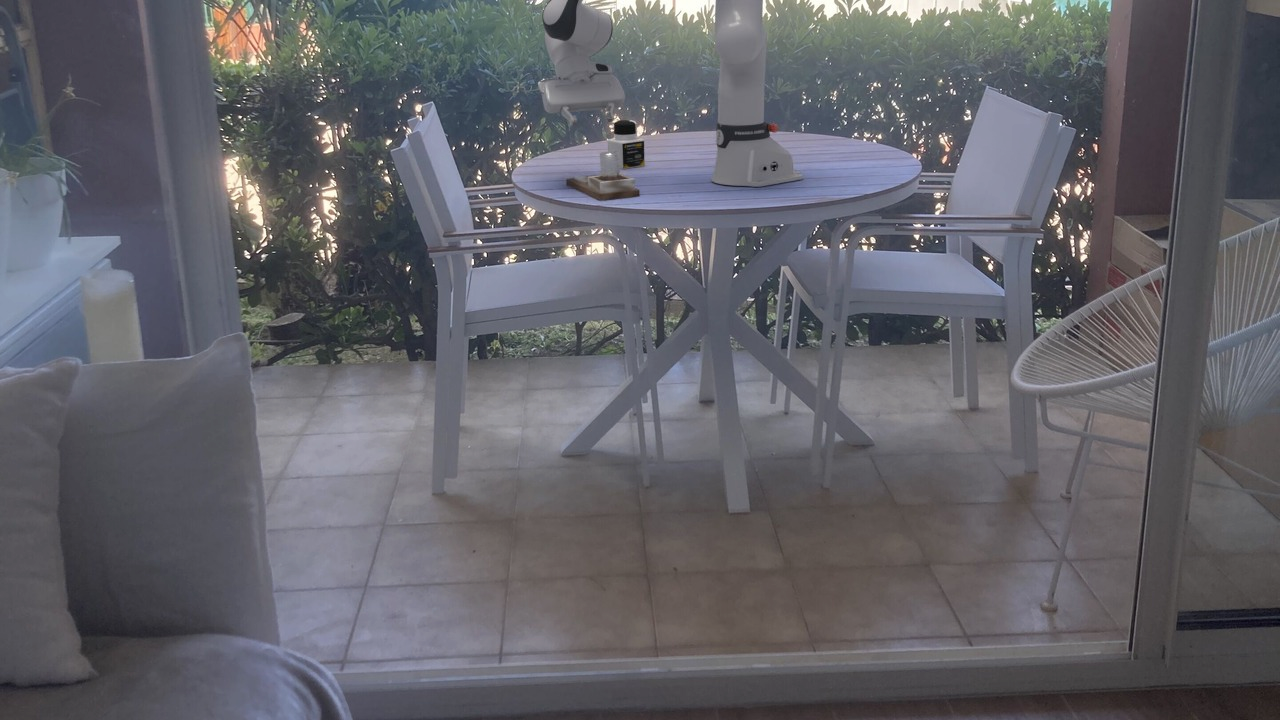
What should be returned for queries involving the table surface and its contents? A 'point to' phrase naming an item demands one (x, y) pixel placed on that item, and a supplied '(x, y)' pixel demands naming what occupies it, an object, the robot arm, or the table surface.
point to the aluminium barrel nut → (609, 166)
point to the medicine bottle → (627, 145)
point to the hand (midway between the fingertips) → (592, 122)
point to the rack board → (605, 187)
